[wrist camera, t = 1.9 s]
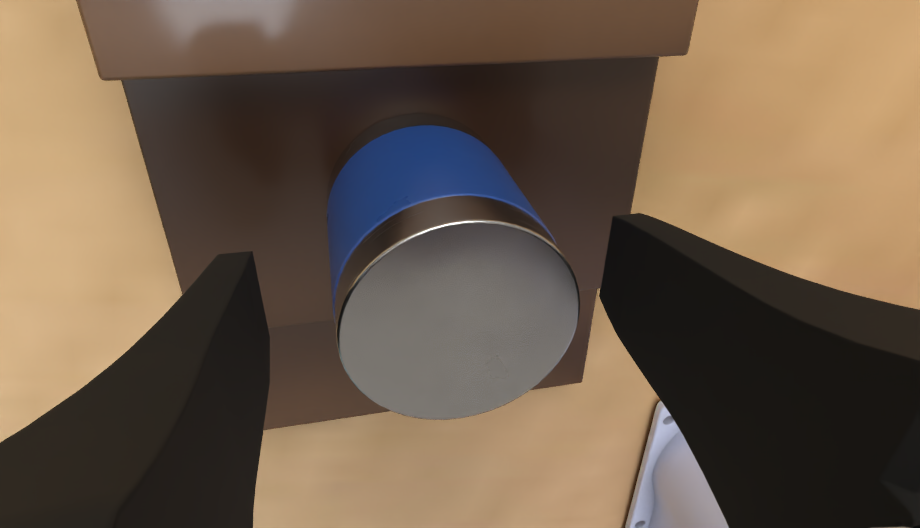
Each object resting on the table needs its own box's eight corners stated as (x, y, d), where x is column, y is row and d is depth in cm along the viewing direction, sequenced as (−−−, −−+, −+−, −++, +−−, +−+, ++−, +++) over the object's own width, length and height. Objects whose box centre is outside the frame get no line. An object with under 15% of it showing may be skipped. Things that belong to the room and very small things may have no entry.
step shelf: (570, 361, 23) (610, 433, 20) (237, 408, 20) (226, 497, 18) (670, -331, 13) (782, -395, 10) (32, -386, 10) (-77, -492, 7)
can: (498, 264, 17) (569, 403, 12) (335, 281, 16) (347, 438, 11) (507, 105, 14) (598, 207, 10) (315, 116, 13) (320, 232, 9)
